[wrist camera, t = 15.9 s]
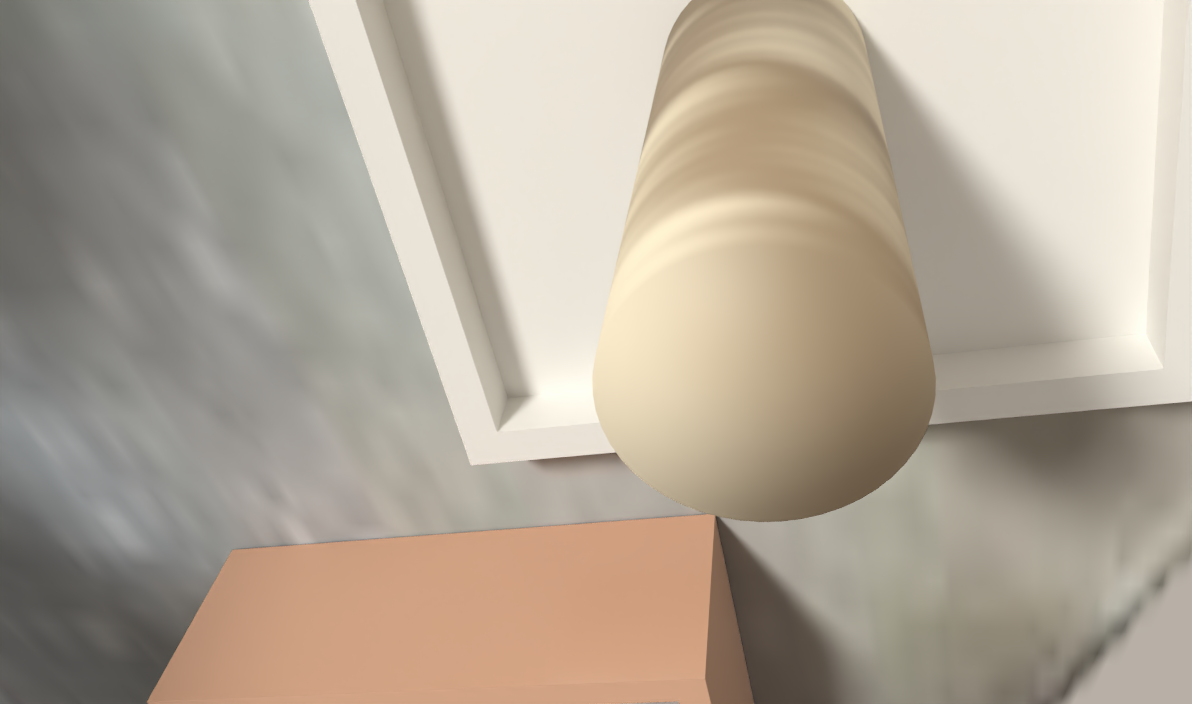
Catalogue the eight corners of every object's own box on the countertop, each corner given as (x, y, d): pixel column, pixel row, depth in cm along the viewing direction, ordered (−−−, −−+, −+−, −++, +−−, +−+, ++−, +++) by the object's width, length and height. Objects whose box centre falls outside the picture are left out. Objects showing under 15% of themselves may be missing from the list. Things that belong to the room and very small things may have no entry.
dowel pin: (681, 176, 26) (627, 531, 16) (645, -12, 24) (558, 270, 14) (874, 149, 25) (944, 509, 15) (857, -51, 23) (926, 223, 13)
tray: (487, 417, 32) (470, 465, 30) (248, -306, 22) (203, -298, 20) (1181, 349, 28) (1207, 399, 26) (1250, -571, 18) (1301, -587, 16)
